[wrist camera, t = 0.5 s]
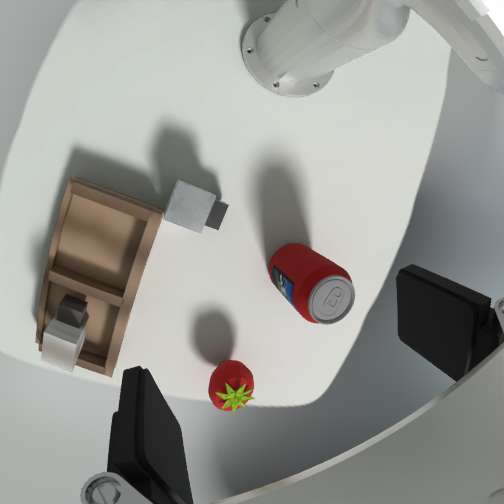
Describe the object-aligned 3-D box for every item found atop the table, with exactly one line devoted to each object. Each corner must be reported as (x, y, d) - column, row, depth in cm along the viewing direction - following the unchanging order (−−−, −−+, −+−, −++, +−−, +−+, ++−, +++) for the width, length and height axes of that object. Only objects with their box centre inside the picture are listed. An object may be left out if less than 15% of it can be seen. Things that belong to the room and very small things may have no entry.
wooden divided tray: (75, 177, 32) (48, 180, 24) (164, 210, 36) (162, 223, 28) (40, 331, 35) (18, 366, 27) (117, 359, 39) (109, 400, 31)
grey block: (164, 210, 36) (163, 219, 30) (177, 178, 35) (178, 180, 29) (212, 228, 38) (221, 241, 32) (224, 197, 38) (236, 204, 31)
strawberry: (198, 381, 43) (207, 428, 34) (210, 340, 42) (223, 384, 33) (235, 386, 45) (252, 431, 36) (250, 346, 44) (271, 388, 34)
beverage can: (257, 276, 41) (290, 316, 30) (284, 232, 41) (328, 257, 29) (296, 297, 44) (336, 338, 32) (322, 256, 43) (371, 286, 32)
